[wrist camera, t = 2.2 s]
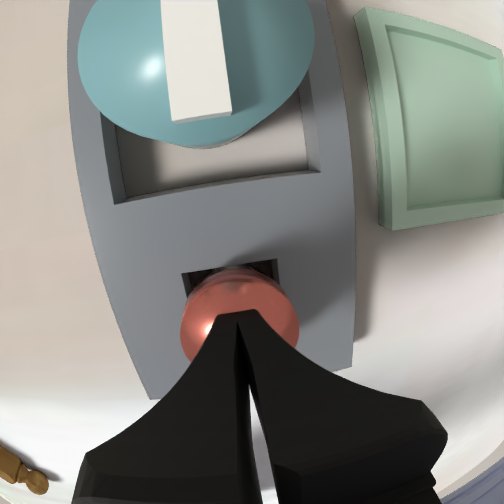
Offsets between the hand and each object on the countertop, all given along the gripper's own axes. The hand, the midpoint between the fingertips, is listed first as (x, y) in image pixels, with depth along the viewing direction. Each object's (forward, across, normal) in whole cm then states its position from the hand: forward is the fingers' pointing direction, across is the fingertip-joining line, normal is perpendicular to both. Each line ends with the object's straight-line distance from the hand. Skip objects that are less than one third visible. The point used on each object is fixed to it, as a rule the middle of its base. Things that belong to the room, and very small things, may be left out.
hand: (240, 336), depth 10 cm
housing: (+4, 0, -6) cm, 7 cm away
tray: (+4, -12, -7) cm, 14 cm away
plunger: (+3, 0, 0) cm, 3 cm away
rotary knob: (+4, 0, -8) cm, 9 cm away
